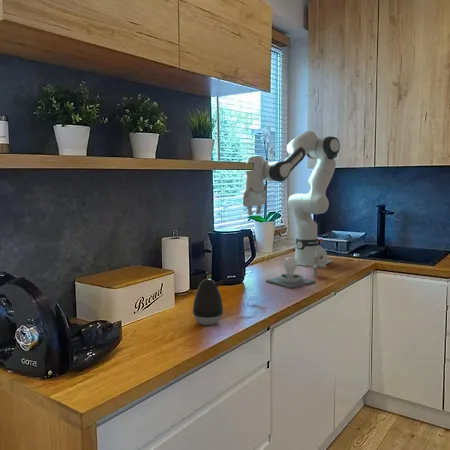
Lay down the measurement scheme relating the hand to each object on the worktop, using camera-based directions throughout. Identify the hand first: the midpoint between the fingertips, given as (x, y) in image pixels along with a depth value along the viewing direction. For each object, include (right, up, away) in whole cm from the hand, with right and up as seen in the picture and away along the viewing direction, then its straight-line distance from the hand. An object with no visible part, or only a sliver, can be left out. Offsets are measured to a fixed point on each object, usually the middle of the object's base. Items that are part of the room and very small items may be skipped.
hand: (254, 214), depth 231 cm
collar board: (+15, -32, -23) cm, 42 cm away
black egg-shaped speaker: (-21, -39, -78) cm, 90 cm away
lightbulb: (+15, -31, -23) cm, 42 cm away
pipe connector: (+29, -31, -10) cm, 44 cm away
